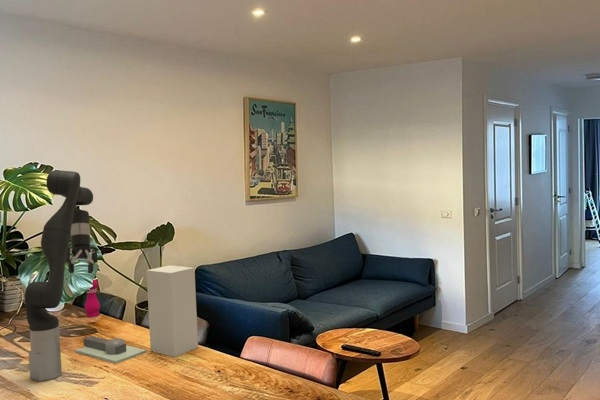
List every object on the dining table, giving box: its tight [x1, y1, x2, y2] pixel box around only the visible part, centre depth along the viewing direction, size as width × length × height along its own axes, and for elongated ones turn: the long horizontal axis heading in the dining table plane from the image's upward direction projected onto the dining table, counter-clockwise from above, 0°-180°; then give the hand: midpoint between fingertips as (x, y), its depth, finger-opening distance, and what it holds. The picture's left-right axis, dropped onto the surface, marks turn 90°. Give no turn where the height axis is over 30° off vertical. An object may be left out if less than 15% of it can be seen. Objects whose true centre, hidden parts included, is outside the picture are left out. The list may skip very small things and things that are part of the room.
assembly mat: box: [74, 344, 147, 365], centre depth 211 cm, size 14×26×1 cm, turn 55°
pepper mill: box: [84, 279, 101, 318], centre depth 269 cm, size 7×7×20 cm
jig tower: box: [146, 264, 199, 358], centre depth 211 cm, size 12×14×32 cm
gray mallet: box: [82, 335, 127, 355], centre depth 213 cm, size 7×22×4 cm, turn 55°
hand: (81, 273), depth 225 cm, fingers open, 8 cm apart
